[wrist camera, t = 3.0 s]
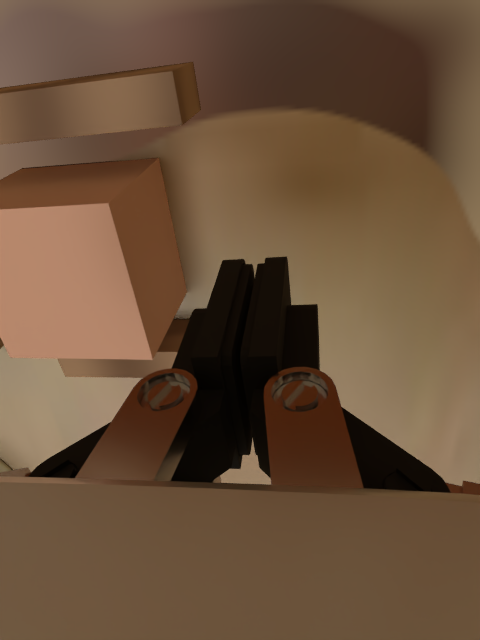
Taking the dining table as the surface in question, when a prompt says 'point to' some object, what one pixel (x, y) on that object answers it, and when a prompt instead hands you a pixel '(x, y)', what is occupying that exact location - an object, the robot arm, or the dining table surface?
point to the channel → (98, 118)
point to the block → (87, 261)
